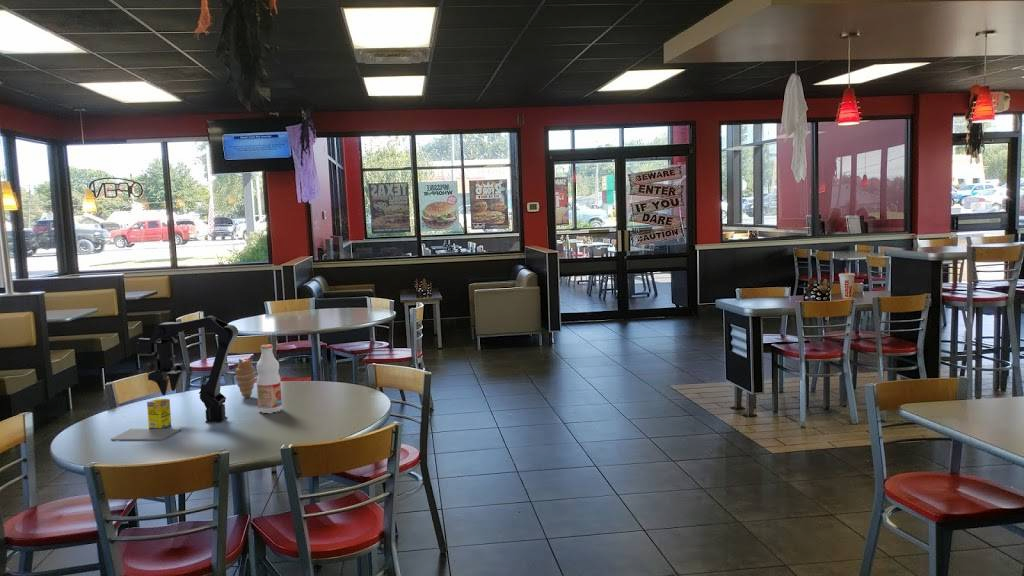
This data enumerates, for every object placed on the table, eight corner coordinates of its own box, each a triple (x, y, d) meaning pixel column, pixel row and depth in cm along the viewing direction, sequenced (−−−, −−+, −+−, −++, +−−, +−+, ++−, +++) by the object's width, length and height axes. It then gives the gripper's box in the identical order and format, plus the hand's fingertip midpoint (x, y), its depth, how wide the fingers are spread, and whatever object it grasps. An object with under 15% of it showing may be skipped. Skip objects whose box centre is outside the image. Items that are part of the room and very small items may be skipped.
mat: (180, 430, 293) (180, 428, 293) (163, 440, 280) (163, 439, 280) (130, 430, 294) (130, 428, 294) (110, 440, 281) (110, 439, 281)
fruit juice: (257, 410, 321) (253, 344, 318) (280, 407, 325) (276, 342, 322) (260, 415, 312) (256, 348, 309) (283, 412, 316) (280, 345, 313)
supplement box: (162, 430, 293) (160, 402, 292) (148, 429, 295) (146, 402, 293) (171, 426, 299) (170, 398, 298) (158, 425, 300) (156, 398, 299)
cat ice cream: (252, 394, 348) (250, 355, 347) (260, 397, 343) (257, 358, 341) (233, 398, 342) (231, 358, 341) (241, 401, 337) (238, 361, 335)
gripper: (158, 350, 312) (161, 387, 313) (132, 359, 293) (136, 399, 295) (184, 349, 311) (187, 387, 313) (160, 359, 293) (163, 398, 294)
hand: (168, 392), depth 304 cm, fingers open, 7 cm apart
